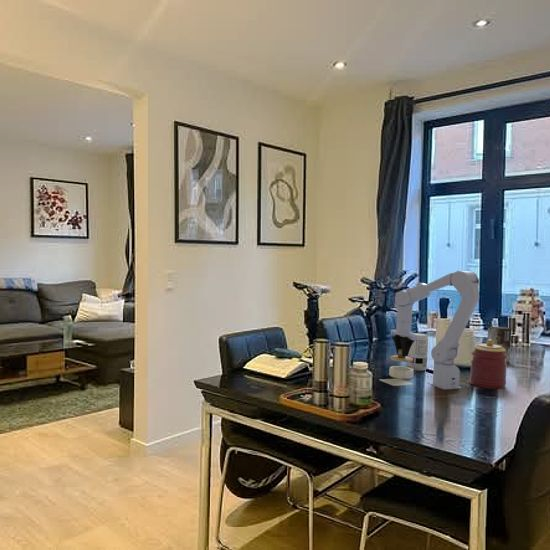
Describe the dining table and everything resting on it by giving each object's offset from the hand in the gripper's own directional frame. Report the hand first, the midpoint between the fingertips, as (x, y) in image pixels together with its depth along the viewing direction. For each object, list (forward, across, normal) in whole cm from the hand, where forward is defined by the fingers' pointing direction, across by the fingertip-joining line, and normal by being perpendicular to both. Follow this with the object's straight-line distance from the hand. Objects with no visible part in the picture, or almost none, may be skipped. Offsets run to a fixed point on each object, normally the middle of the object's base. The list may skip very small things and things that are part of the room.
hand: (402, 355), depth 209 cm
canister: (+9, -19, -26) cm, 33 cm away
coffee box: (+9, +18, -69) cm, 72 cm away
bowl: (+9, 0, 0) cm, 9 cm away
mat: (+9, -8, +8) cm, 14 cm away
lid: (+2, 0, 0) cm, 2 cm away
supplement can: (+9, +11, -16) cm, 21 cm away
